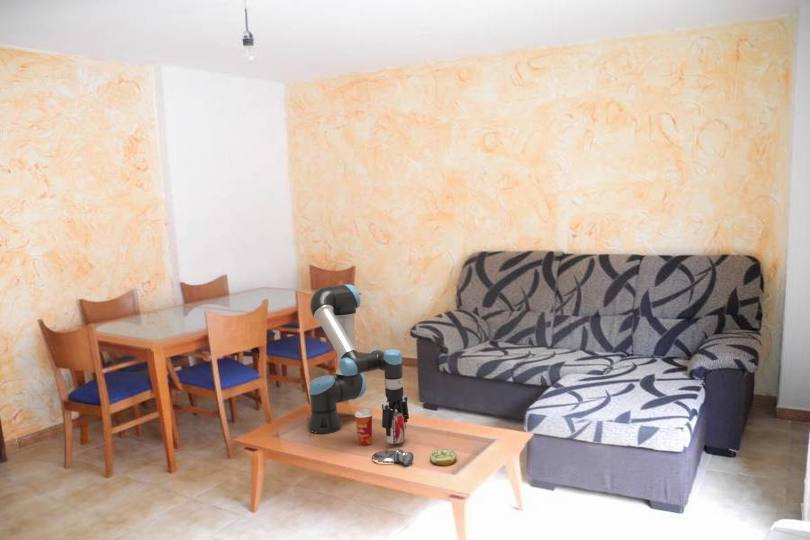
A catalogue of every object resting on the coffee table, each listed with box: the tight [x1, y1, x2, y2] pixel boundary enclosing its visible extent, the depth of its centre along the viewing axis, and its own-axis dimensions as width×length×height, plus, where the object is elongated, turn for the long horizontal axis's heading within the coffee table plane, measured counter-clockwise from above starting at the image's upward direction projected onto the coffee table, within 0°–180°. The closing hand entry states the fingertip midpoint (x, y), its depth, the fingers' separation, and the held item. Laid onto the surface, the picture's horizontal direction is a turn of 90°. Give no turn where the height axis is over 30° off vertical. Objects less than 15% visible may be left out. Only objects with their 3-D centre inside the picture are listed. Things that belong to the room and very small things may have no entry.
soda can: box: [388, 410, 406, 444], centre depth 274 cm, size 7×7×12 cm
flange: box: [371, 449, 396, 464], centre depth 260 cm, size 12×12×1 cm
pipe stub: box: [394, 448, 414, 467], centre depth 254 cm, size 6×5×5 cm
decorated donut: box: [429, 448, 457, 467], centre depth 255 cm, size 10×11×4 cm
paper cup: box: [354, 408, 374, 447], centre depth 277 cm, size 8×8×14 cm
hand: (396, 439), depth 274 cm, fingers closed on soda can, 7 cm apart
